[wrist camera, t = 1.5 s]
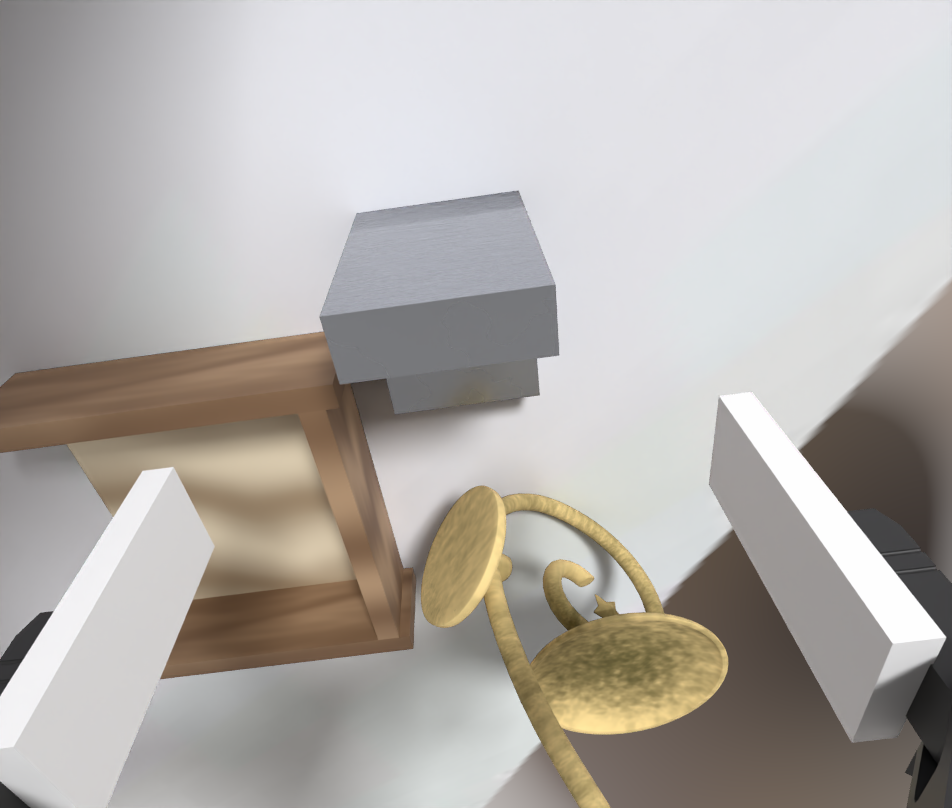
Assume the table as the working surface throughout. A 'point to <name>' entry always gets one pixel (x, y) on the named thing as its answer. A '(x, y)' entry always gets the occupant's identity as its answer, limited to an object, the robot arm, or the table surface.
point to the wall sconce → (572, 635)
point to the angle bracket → (443, 303)
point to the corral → (241, 491)
